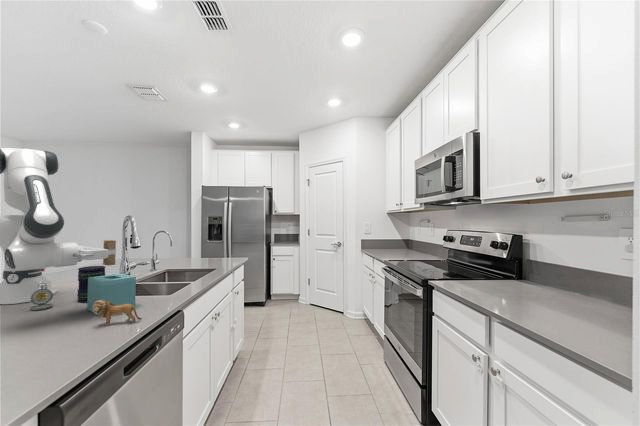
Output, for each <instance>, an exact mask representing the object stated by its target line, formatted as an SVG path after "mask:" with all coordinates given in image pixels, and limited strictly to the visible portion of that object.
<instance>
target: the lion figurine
mask: <svg viewBox="0 0 640 426" xmlns="http://www.w3.org/2000/svg"><path fill="white" fill-rule="evenodd" d="M92 310H93V312H92V313H93V314H95V315H97V316H99V317H100V318H105V321H106V322H105V323H104V324H103V325H104V327H108V326H110V324H111V320H112V319H111V318H112V317H120V316H122V315H123V314H124V315H125V316H126V317H128V318H127V319H125V322H130V320H131V322H130V323H131V324H135V323H136V322H137V320H139V321H140V320H142V319H143V318H142V317H139V316H138V314H137V310H136V307H135V308H134V306H133V305H131V304H125V305H118V306H116V305H114V304H113V303H111V302H107V301H104V300H98V301H96V302H95V303H93V309H92ZM133 314H134V315H133ZM136 319H137V320H136Z"/></svg>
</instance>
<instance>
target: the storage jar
mask: <svg viewBox="0 0 640 426" xmlns="http://www.w3.org/2000/svg"><path fill="white" fill-rule="evenodd" d="M105 269H106V265H91V266H83V267H79V268H78V272H77V281H78V289H77V293H76V294H77V303H78V304H87V299H88V278H90V277H97V276H105V275H106V270H105Z"/></svg>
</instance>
